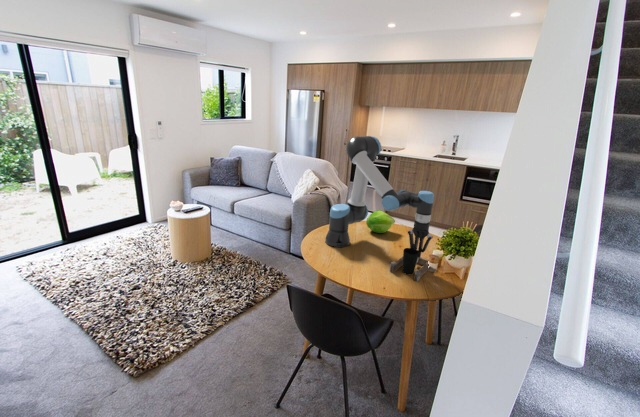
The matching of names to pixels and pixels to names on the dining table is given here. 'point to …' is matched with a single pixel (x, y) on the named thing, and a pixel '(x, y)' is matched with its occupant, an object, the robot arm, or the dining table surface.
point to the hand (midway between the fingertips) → (415, 262)
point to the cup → (409, 260)
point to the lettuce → (379, 222)
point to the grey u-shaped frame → (418, 274)
